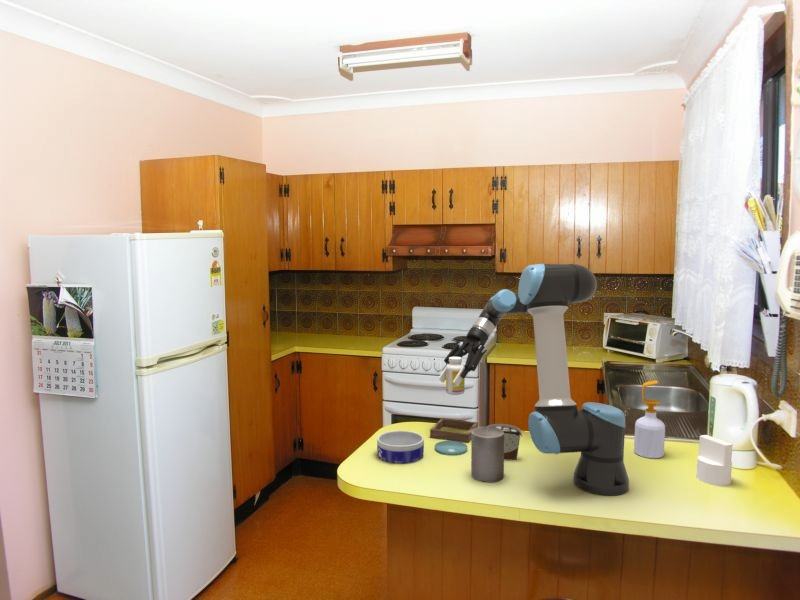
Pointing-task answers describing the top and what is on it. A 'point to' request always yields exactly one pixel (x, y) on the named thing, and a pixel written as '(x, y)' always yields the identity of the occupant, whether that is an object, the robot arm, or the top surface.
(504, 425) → the food container
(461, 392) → the supplement bottle
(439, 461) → the top surface
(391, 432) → the dog bowl
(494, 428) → the pillar candle
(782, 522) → the top surface
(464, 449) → the coaster
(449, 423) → the square frame
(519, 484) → the top surface
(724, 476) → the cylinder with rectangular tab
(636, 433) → the soap bottle
